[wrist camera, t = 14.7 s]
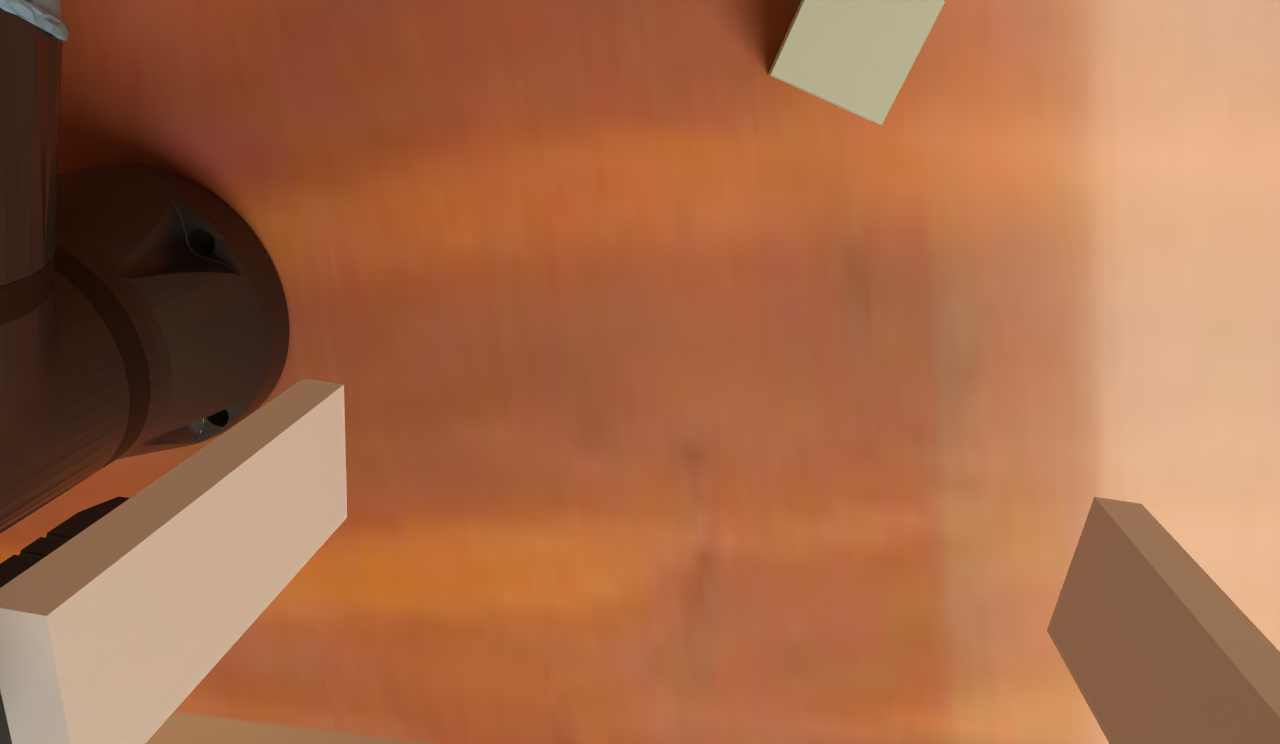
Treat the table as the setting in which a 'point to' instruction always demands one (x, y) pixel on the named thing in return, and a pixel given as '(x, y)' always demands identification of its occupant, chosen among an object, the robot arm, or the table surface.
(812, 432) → the table surface
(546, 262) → the table surface
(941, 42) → the table surface
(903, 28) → the sage block
